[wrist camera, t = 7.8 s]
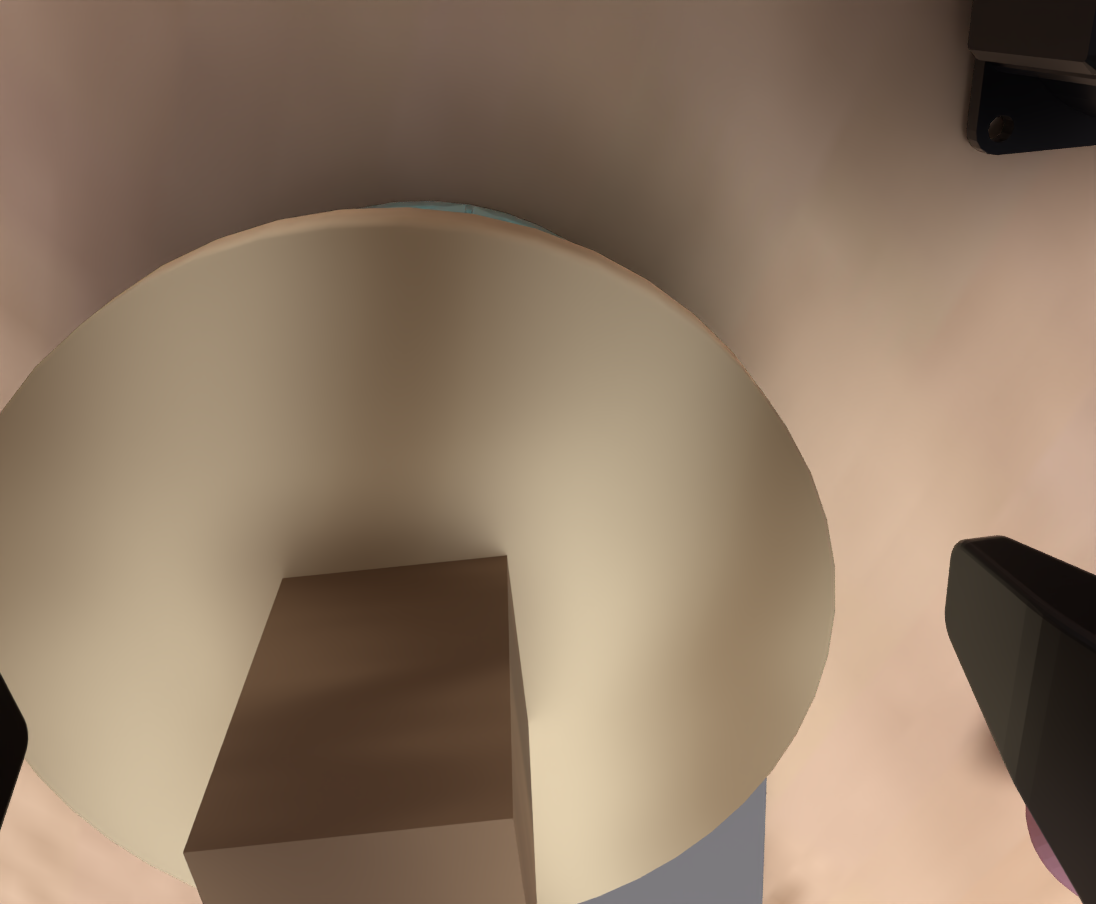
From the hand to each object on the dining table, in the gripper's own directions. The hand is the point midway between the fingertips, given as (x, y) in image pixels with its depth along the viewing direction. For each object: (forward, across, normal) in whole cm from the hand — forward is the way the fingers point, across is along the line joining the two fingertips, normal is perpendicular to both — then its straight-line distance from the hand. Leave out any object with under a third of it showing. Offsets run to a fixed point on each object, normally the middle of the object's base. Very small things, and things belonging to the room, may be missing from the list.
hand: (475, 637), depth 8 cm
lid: (+6, +2, +4) cm, 8 cm away
